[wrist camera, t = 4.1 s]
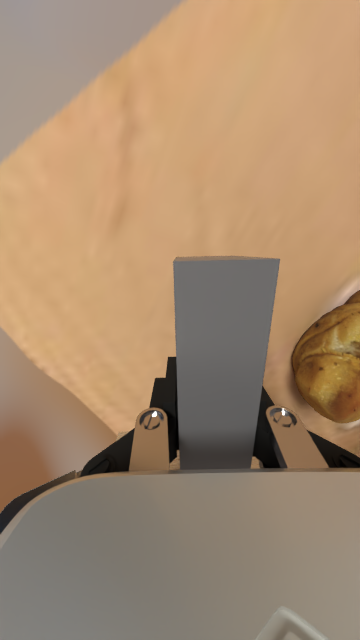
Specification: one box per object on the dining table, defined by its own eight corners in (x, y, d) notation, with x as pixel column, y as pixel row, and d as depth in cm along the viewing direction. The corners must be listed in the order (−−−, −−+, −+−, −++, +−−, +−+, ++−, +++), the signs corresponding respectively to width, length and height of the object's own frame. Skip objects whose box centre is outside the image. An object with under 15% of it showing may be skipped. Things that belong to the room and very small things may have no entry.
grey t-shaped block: (320, 253, 10) (441, 255, 5) (282, 439, 14) (332, 530, 10) (90, 259, 10) (14, 264, 6) (120, 441, 15) (92, 533, 10)
